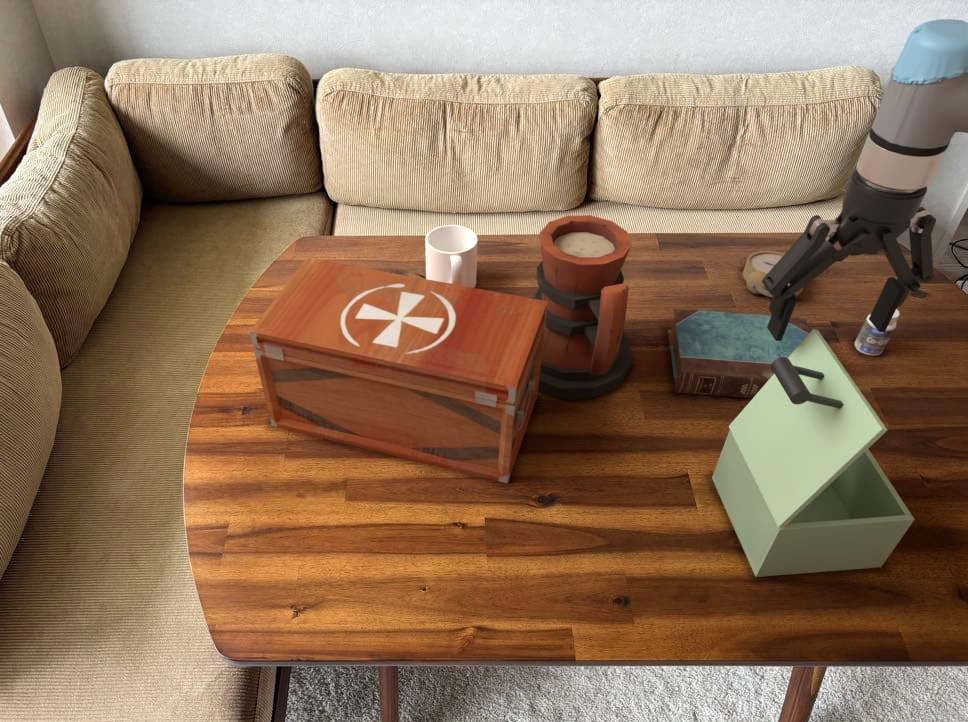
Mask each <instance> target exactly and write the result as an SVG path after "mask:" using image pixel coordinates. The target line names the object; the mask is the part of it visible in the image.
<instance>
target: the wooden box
mask: <svg viewBox="0 0 968 722" xmlns="http://www.w3.org/2000/svg"><path fill="white" fill-rule="evenodd" d="M547 305H548V301H543V300H537V299H534V298H532V297H526V296H521V295H515V294H509V293H504V292H498V291H493V290H489V289H483V288H476V287H475V288H472V287H466V286H461V285H455V284H450V283H444V282H439V281H434V280H428V279H426V278H422V277H418V276H417V277H416V276H412V275H406V274H400V273H396V272H389V271H384V270H379V269H374V268H368V267H362V266H357V265H351V264H345V263H341V262H335V261H329V260H325V259H319V258H314V257H306V259H305V260H304V261H303V263H302V264H301V265H300V266H299V268H298V269H297V270H296V271H295V273H294V274H293V275H292V277H291V278H290V279H289V280H288V281H287V283H286V284H285V285H284V286H283V288H282V289H281V290H280V292H279V293H278V295H276V297H275V298H274V300H273V301H272V302H271V303H270V305H269V306H268V307H267V308H266V309H265V311H264V313H262V315H261V316H260V317H259V319H258V320H257V321H256V323H255V324H254V325H253V326H252V328H251V329H250V330H249V335H250V340H251V344H252V347H253V348H254V349H253V353H254V357H255V361H256V365H257V370H258V374H259V378H260V383H261V387H262V391H263V395H264V399H265V404H266V407H267V413H268V416H269V422H270V425H271V427H275V428H279V429H284V430H287V431H291V432H294V433H299V434H304V435H308V436H312V437H315V438H320V439H323V440H328V441H331V442H332V441H333V442H337V443H339V444H340V443H341V444H344V445H348V446H352V447H357V448H360V449H364V450H369V451H373V452H377V453H381V454H384V455H390V456H392V457H393V456H394V457H396V458H397V457H398V458H401V459H406V460H410V461H413V462H418V463H422V464H426V465H431V466H435V467H439V468H443V469H447V470H451V471H455V472H459V473H463V474H467V475H472V476H475V477H480V478H484V479H488V480H492V481H496V482H500V483H505V484H508V483H509V481H510V478H511V475H512V473H513V469H514V466H515V463H516V460H517V457H518V455H519V452H520V448H521V447H522V443H523V440H524V437H525V434H526V431H527V427H528V425H529V422H530V419H531V417H532V414H533V411H534V407H535V405H536V402H537V399H538V393H539V392H538V385H539V376H540V367H541V358H542V349H543V340H544V331H545V324H546V314H547Z"/></svg>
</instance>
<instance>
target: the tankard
mask: <svg viewBox="0 0 968 722" xmlns="http://www.w3.org/2000/svg"><path fill="white" fill-rule="evenodd" d="M539 241H540V251H541V252H540V253H541V262H540V263H539V264H538V265H537V267H536V280H537V286H538V287H537V288H538V290H537V291H536V293H535V294H534V297H533V299H537V300H543V301H548V305H547V314H546V324H545V331H544V340H543V349H542V358H541V367H540V376H539V385H538V393H541V394H544V395H546V396H550V397H552V398H555V399H558V400H583V399H585V400H588V399H590V400H591V399H595V398H597V397H600V396H601V395H603V394H606V393H608V392H611V391H612V390H615V389H617V388H619V387H620V385H622V382H623V381H624V379H625V378H626V376H627V374H628V372H629V370H630V368H631V366H632V361H633V352H632V349H631V346H630V343H629V342H630V341H629V339H628V335H627V334H626V333H625V332H624V329H625V324H626V317H627V310H628V309H627V308H628V298H629V289H630V286H628V285H627V284H626V283H624V281H625V277H624V274H623V271H622V269H623V267H624V264H625V262H626V259H627V258H628V255H629V252H630V250H631V247H632V242H631V239H630V236H629V234H628V230H625V229H624V228H623V227H621V226H620V225H618V224H617V223H615V222H614V221H613V220H609V219H606V218H602V217H598V216H594V215H591V214H590V215H589V214H587V215H586V214H585V215H582V214H581V215H580V214H579V215H566V216H562V217H560V218H559V217H558V218H556V219H553V220H551V221H548V223H547V224H546V225H545V226H544V227H543V228H542V229H541V231H540V232H539Z"/></svg>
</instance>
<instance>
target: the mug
mask: <svg viewBox="0 0 968 722" xmlns="http://www.w3.org/2000/svg"><path fill="white" fill-rule="evenodd" d="M424 238H425V241H424V243H425V244H424V245H425V249H424V250H425V279H428V280H434V281H439V282H444V283H450V284H455V285H461V286H466V287H472V288H476V285H477V269H478V268H477V266H478V265H477V263H478V235H477V234H476V232H474V231H473V230H472V229H471V228H468V227H466V226H462V225H459V224H445V225H439V226H437V227H434V228H433V229H431V230H429V231H428V232H427V233H426V235H425V237H424Z"/></svg>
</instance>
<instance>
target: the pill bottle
mask: <svg viewBox="0 0 968 722" xmlns="http://www.w3.org/2000/svg"><path fill="white" fill-rule="evenodd" d="M870 315H871V313H870V314H868V315H867V316H866V318H865V320H864V322H863V325H862V327H861V328H860V330H859V332H858V335H857V336H856V339H855V341H854V347H855V349H856V350H857V351H858V352H860V353H861V354H863V355H866V356H870V357H871V356H874V357H875V356H880V355H881V354H882V353H884V350H885V348H886V346H887V344H888V342H889V341H890V338H891V337H892V335H893V333H894V331H895V330H896V328H897V321H898V319H899V317H900V311H899V310H898V308H897V309H896V311H895V313H894V315H893V317H892V319H891V321H890V323H889V325H888V327H887V329H886V331H885V332H879V331H878V330H877V329H876V327H875V326H874V325H873V324H872V323H871V321H870V320H869V317H870Z"/></svg>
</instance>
